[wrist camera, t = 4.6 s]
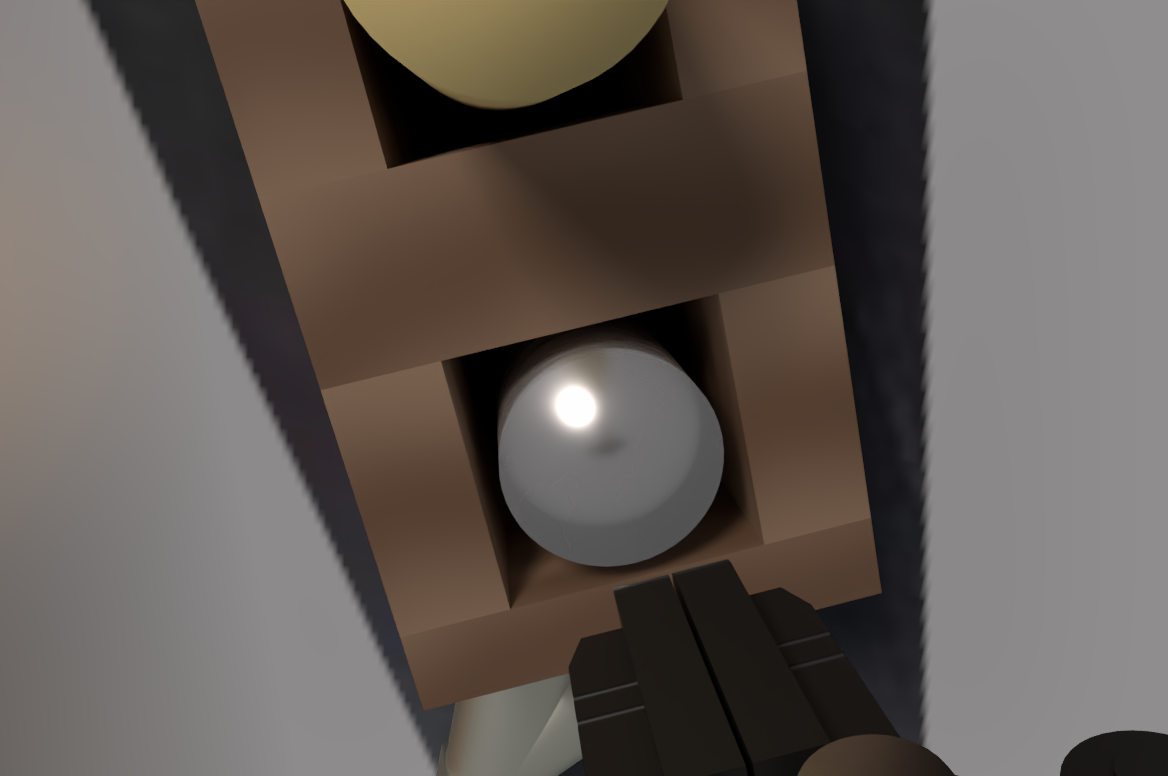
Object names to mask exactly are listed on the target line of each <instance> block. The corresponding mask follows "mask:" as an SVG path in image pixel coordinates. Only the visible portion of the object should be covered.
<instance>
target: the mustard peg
mask: <svg viewBox="0 0 1168 776" xmlns="http://www.w3.org/2000/svg"><path fill="white" fill-rule="evenodd" d="M344 1H345V3H346V4H347V6H348V8H349V9H350V11H351V12H352V14H353V15H354V17H355V18H356V19H357V20H358V22H359V23H360V24H361V25H362V26H363V28H364V29H365V30H366V31H367V32H368V34H369V35H370V36H371V37H372V38H373V39H374V40H375V41H376V42H377V43H378V44H379V45H380V46H381V47H382V48H383V49H385V50H386V51H387V52H388V53H389V54H390V55H391V56H392V57H394V58H395V59H396V60H398V61H399V62H400V63H401V64H403V65H404V66H405V67H407V68H408V69H409V70H410V71H412V72H413V73H414V74H416V75H417V76H418V77H420V78H421V79H422V80H423V81H425V82H426V83H427V84H429V85H430V86H431V87H433V88H434V89H435V90H437V91H438V92H439V93H441V94H443V95H445V96H447V97H448V98H450V99H452V100H454V101H457V102H459V103H462V104H464V105H467V106H471V107H475V108H478V109H484V110H493V111H507V110H516V109H522V108H526V107H529V106H533V105H536V104H539V103H541V102H543V101H546V100H548V99H550V98H552V97H555V96H557V95H559V94H561V93H563V92H566V91H568V90H570V89H572V88H575V87H577V86H579V85H581V84H583V83H585V82H588V81H590V80H592V79H594V78H595V77H597V76H599V75H600V74H602V73H603V72H605V71H606V70H608V69H609V68H611V67H613V66H614V65H615V64H616V63H618V62H619V61H620V60H621V59H622V58H623V57H625V56H626V55H627V54H628V53H629V52H631V51H632V50H633V49H634V48H635V46H636V45H637V44H638V43H639V42H640V41H641V40H642V39H643V38H644V37H645V35H646V34H647V33H648V32H649V31H650V29H651V28H652V26H653V25H654V24H655V22H656V21H657V19H658V18H659V16H660V15H661V13H662V12H663V10H664V8H665V6H666V5H667V3H668V1H669V0H344Z"/></svg>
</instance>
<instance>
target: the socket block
mask: <svg viewBox="0 0 1168 776" xmlns="http://www.w3.org/2000/svg"><path fill="white" fill-rule="evenodd" d="M195 2H196V5H197V8H198V11H199V14H200V17H201V20H202V23H203V26H204V29H205V33H206V36H207V39H208V42H209V45H210V48H211V51H212V54H213V57H214V61H215V64H216V67H217V70H218V73H219V76H220V79H221V82H222V85H223V88H224V92H225V95H226V98H227V101H228V104H229V107H230V110H231V113H232V116H233V119H234V123H235V126H236V129H237V132H238V135H239V138H240V141H241V144H242V147H243V151H244V154H245V157H246V160H247V163H248V166H249V169H250V172H251V175H252V178H253V182H254V185H255V188H256V191H257V194H258V197H259V200H260V203H261V206H262V210H263V213H264V216H265V219H266V222H267V225H268V228H269V231H270V234H271V237H272V241H273V244H274V247H275V250H276V253H277V256H278V259H279V262H280V265H281V268H282V272H283V275H284V278H285V281H286V284H287V287H288V290H289V293H290V296H291V300H292V303H293V306H294V309H295V312H296V315H297V318H298V321H299V324H300V327H301V331H302V334H303V337H304V340H305V343H306V346H307V349H308V352H309V355H310V359H311V362H312V365H313V368H314V371H315V374H316V377H317V380H318V383H319V386H320V390H321V393H322V396H323V399H324V402H325V405H326V408H327V411H328V414H329V417H330V421H331V424H332V427H333V430H334V433H335V436H336V439H337V442H338V445H339V449H340V452H341V455H342V458H343V461H344V464H345V467H346V470H347V473H348V476H349V480H350V483H351V486H352V489H353V492H354V495H355V498H356V501H357V504H358V508H359V511H360V514H361V517H362V520H363V523H364V526H365V529H366V532H367V535H368V539H369V542H370V545H371V548H372V551H373V554H374V557H375V560H376V563H377V567H378V570H379V573H380V576H381V579H382V582H383V585H384V588H385V591H386V594H387V598H388V601H389V604H390V607H391V610H392V613H393V616H394V619H395V622H396V625H397V629H398V632H399V635H400V638H401V641H402V644H403V647H404V650H405V653H406V657H407V660H408V663H409V666H410V669H411V672H412V675H413V678H414V681H415V684H416V688H417V691H418V694H419V697H420V700H421V703H422V706H423V709H424V711H425V710H429V709H433V708H437V707H441V706H444V705H448V704H452V703H456V702H460V701H464V700H468V699H472V698H476V697H479V696H483V695H487V694H491V693H495V692H499V691H503V690H507V689H511V688H514V687H518V686H522V685H526V684H530V683H534V682H538V681H542V680H546V679H549V678H553V677H557V676H561V675H565V674H569V669H568V667H569V664H570V662H571V660H572V658H573V655H574V653H575V651H576V648H577V646H578V644H579V642H580V639H581V638H584V637H588V636H592V635H596V634H600V633H604V632H608V631H611V630H615V629H619V628H622V627H621V623H620V619H619V615H618V611H617V606H616V602H615V598H614V593H613V588H616V587H620V586H624V585H628V584H632V583H636V582H640V581H644V580H647V579H651V578H655V577H659V576H663V575H667V574H668V575H669V577H670V579H671V582H672V584H673V579H672V573H674V572H678V571H682V570H686V569H690V568H694V567H698V566H702V565H706V564H710V563H714V562H718V561H722V560H726V559H729V560H730V562H731V563H732V565H733V567H734V569H735V571H736V572H737V574H738V576H739V578H740V580H741V581H742V583H743V585H744V587H745V589H746V590H747V592H748V594H749V595H752V594H756V593H759V592H763V591H767V590H771V589H775V588H779V587H781V588H783V589H785V590H787V591H788V592H790V593H792V594H794V595H795V596H797V597H799V598H801V599H803V600H804V601H806V602H808V603H810V604H811V605H812V606H813V608H814V609H815V610H818V609H821V608H825V607H829V606H833V605H837V604H841V603H845V602H849V601H852V600H856V599H860V598H864V597H868V596H872V595H876V594H880V593H882V591H881V584H880V577H879V570H878V563H877V556H876V549H875V542H874V535H873V528H872V522H871V515H870V508H869V501H868V494H867V487H866V480H865V473H864V466H863V459H862V452H861V445H860V438H859V431H858V424H857V417H856V410H855V403H854V396H853V389H852V382H851V375H850V368H849V361H848V354H847V347H846V340H845V333H844V326H843V319H842V312H841V305H840V298H839V291H838V284H837V277H836V271H835V264H834V257H833V250H832V243H831V236H830V229H829V222H828V215H827V208H826V201H825V194H824V187H823V180H822V173H821V166H820V159H819V152H818V145H817V138H816V131H815V124H814V117H813V110H812V103H811V96H810V89H809V82H808V75H807V68H806V61H805V54H804V47H803V40H802V33H801V27H800V20H799V13H798V6H797V0H669V1H668V3H667V5H666V6H665V8H664V10H663V12H662V13H661V15H660V16H659V18H658V19H657V21H656V22H655V24H654V25H653V26H652V28H651V29H650V31H649V32H648V33H647V34H646V35H645V37H644V38H643V39H642V40H641V41H640V42H639V43H638V44H637V45H636V46H635V48H634V49H633V50H632V51H631V52H629V53H628V54H627V55H626V56H625V57H623V58H622V59H621V60H620V61H619V62H618V63H616V64H615V65H614V66H613V67H612V72H613V77H614V82H615V87H616V92H617V97H618V102H619V106H620V109H616V110H612V111H608V112H604V113H599V114H595V115H591V116H586V117H582V118H578V119H574V120H569V121H565V122H561V123H557V124H552V125H548V126H544V127H539V128H535V129H531V130H527V131H522V132H518V133H514V134H510V135H505V136H501V137H497V138H492V139H488V140H484V141H480V142H475V143H471V144H467V145H463V146H458V147H454V148H450V149H446V150H441V151H437V152H433V153H428V154H424V155H420V156H418V152H417V148H416V145H415V141H414V137H413V133H412V130H411V126H410V122H409V118H408V115H407V111H406V107H405V104H404V100H403V96H402V92H401V89H400V85H399V81H398V77H397V74H396V70H395V66H394V63H393V59H392V56H391V55H390V54H389V53H388V52H387V51H386V50H385V49H383V48H382V47H381V46H380V45H379V44H378V43H377V42H376V41H375V40H374V39H373V38H372V37H371V36H370V35H369V34H368V32H367V31H366V30H365V29H364V28H363V26H362V25H361V24H360V23H359V22H358V20H357V19H356V18H355V17H354V15H353V14H352V12H351V11H350V9H349V8H348V6H347V4H346V3H345V1H344V0H195ZM657 308H660V309H661V314H662V319H663V324H664V329H665V334H666V339H667V344H668V348H669V353H670V354H671V355H672V357H673V358H674V359H675V360H676V362H677V363H678V364H679V365H680V366H681V368H682V369H683V370H684V371H685V373H686V374H687V375H688V376H689V377H690V379H691V380H692V381H693V382H694V383H695V385H696V386H697V387H698V388H699V390H700V391H701V392H702V393H703V395H704V396H705V397H706V398H707V400H708V402H709V403H710V405H711V407H712V408H713V410H714V413H715V415H716V417H717V420H718V422H719V426H720V429H721V433H722V438H723V447H724V464H723V471H722V477H721V480H720V484H719V487H718V491H717V493H716V495H715V497H714V500H713V502H712V504H711V506H710V507H709V509H708V511H707V512H706V514H705V516H704V517H703V518H702V519H701V521H700V522H699V523H698V524H697V526H696V527H695V528H694V529H693V530H692V531H691V532H690V533H689V534H688V535H687V536H686V537H685V538H683V539H682V540H681V541H679V542H678V543H677V544H676V545H674V546H672V547H671V548H669V549H668V550H666V551H664V552H663V553H660V554H658V555H656V556H654V557H652V558H649V559H646V560H643V561H640V562H637V563H632V564H627V565H622V566H608V567H606V566H591V565H585V564H580V563H576V562H573V561H570V560H566V559H564V558H562V557H559V556H557V555H555V554H553V553H551V552H550V551H548V550H546V549H545V548H543V547H541V546H540V545H539V544H538V543H537V542H535V541H534V540H533V539H532V538H530V537H529V535H528V534H527V533H526V532H525V531H524V530H523V529H522V528H521V527H520V525H519V524H518V522H517V521H516V520H515V518H514V517H513V515H512V513H511V511H510V509H509V507H508V505H507V503H506V500H505V497H504V494H503V492H502V487H501V482H500V477H499V457H498V450H497V447H496V443H495V439H494V435H493V432H492V428H491V424H490V421H489V417H488V413H487V409H486V406H485V402H484V398H483V394H482V391H481V387H480V383H479V379H478V376H477V372H476V368H475V365H474V361H473V357H472V353H476V352H480V351H484V350H489V349H493V348H497V347H501V346H505V345H509V344H513V343H517V342H521V341H526V340H530V339H534V338H538V337H542V336H546V335H550V334H554V333H559V332H563V331H567V330H571V329H575V328H579V327H583V326H587V325H591V324H596V323H600V322H604V321H608V320H612V319H616V318H620V317H624V316H628V315H633V314H637V313H641V312H645V311H649V310H653V309H657ZM673 587H674V585H673Z"/></svg>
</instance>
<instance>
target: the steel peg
mask: <svg viewBox="0 0 1168 776" xmlns="http://www.w3.org/2000/svg"><path fill="white" fill-rule="evenodd" d="M495 386H496V410H497V433H498V457H499V477H500V482H501V487H502V492H503V494H504V497H505V500H506V503H507V505H508V507H509V509H510V511H511V513H512V515H513V517H514V518H515V520H516V521H517V522H518V524H519V525H520V527H521V528H522V529H523V530H524V531H525V532H526V533H527V534H528V535H529V537H530V538H532V539H533V540H534V541H535V542H537V543H538V544H539V545H540V546H541V547H543V548H545V549H546V550H548V551H550V552H551V553H553V554H555V555H557V556H559V557H562V558H564V559H566V560H570V561H573V562H576V563H580V564H585V565H591V566H606V567H608V566H622V565H627V564H632V563H637V562H640V561H643V560H646V559H649V558H652V557H654V556H656V555H658V554H660V553H663V552H664V551H666V550H668V549H669V548H671V547H672V546H674V545H676V544H677V543H678V542H679V541H681V540H682V539H683V538H685V537H686V536H687V535H688V534H689V533H690V532H691V531H692V530H693V529H694V528H695V527H696V526H697V524H698V523H699V522H700V521H701V519H702V518H703V517H704V516H705V514H706V512H707V511H708V509H709V507H710V506H711V504H712V502H713V500H714V497H715V495H716V493H717V491H718V487H719V484H720V480H721V477H722V471H723V464H724V447H723V438H722V433H721V429H720V426H719V422H718V420H717V417H716V415H715V413H714V410H713V408H712V407H711V405H710V403H709V402H708V400H707V398H706V397H705V396H704V395H703V393H702V392H701V391H700V390H699V388H698V387H697V386H696V385H695V383H694V382H693V381H692V380H691V379H690V377H689V376H688V375H687V374H686V373H685V371H684V370H683V369H682V368H681V366H680V365H679V364H678V363H677V362H676V360H675V359H674V358H673V357H672V355H671V354H670V353H669V352H668V351H667V349H666V348H665V347H664V346H663V345H662V343H661V342H660V341H659V340H658V338H657V337H656V336H655V335H654V334H653V332H652V331H651V330H650V329H649V327H648V326H647V325H646V324H645V323H644V321H643V320H642V319H641V318H640V317H639V315H638V314H633V315H628V316H624V317H620V318H616V319H612V320H608V321H604V322H600V323H596V324H591V325H587V326H583V327H579V328H575V329H571V330H567V331H563V332H559V333H554V334H550V335H546V336H542V337H538V338H534V339H530V340H526V341H521V342H517V343H513V344H509V345H505V346H501V347H497V351H496V355H495Z"/></svg>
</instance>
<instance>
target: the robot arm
mask: <svg viewBox="0 0 1168 776" xmlns="http://www.w3.org/2000/svg"><path fill="white" fill-rule="evenodd" d="M672 579H673V584H672V582H671V579H670V577H669V575H668V574H667V575H663V576H659V577H655V578H651V579H647V580H644V581H640V582H636V583H632V584H628V585H624V586H620V587H616V588H613V593H614V598H615V602H616V606H617V611H618V615H619V619H620V623H621V627H622V628H619V629H615V630H611V631H608V632H604V633H600V634H596V635H592V636H588V637H584V638H581V639H580V642H579V644H578V646H577V648H576V651H575V653H574V655H573V658H572V660H571V662H570V664H569V667H568V669H569V675H570V682H571V688H572V695H573V699H574V707H575V714H576V720H577V724H578V733H579V739H580V746H581V752H582V758H583V765H584V771H585V776H957V775H954V773H953V772H952V771H951V770H950V768H949V767H948V766H947V765H946V764H945V763H944V762H943V761H942V760H941V759H940V758H939V757H938V756H937V755H935V754H934V753H932V752H931V751H930V750H928V749H926V748H925V747H923V746H921V745H919V744H917V743H914V742H911V741H909V740H906V739H903V738H900V736H899V735H898V733H897V732H896V730H895V729H894V727H893V726H892V724H891V723H890V721H889V720H888V718H887V717H886V715H885V714H884V712H883V711H882V709H881V708H880V706H879V705H878V703H877V702H876V700H875V699H874V697H873V696H872V694H871V693H870V691H869V690H868V688H867V687H866V685H865V684H864V682H863V681H862V679H861V678H860V676H859V675H858V673H857V672H856V670H855V669H854V667H853V666H852V664H851V663H850V661H849V660H848V658H847V657H844V654H843V651H842V649H841V648H840V646H839V645H838V643H837V642H836V640H835V639H834V637H833V636H832V635H831V636H830V634H829V630H828V628H827V627H826V625H825V624H824V622H823V621H822V619H821V618H820V616H819V615H818V614H817V612H816V611H815V609H814V608H813V606H812V605H811V604H810V603H808V602H806V601H804V600H803V599H801V598H799V597H797V596H795V595H794V594H792V593H790V592H788V591H787V590H785V589H783V588H781V587H779V588H775V589H771V590H767V591H763V592H759V593H756V594H752V595H749V594H748V592H747V590H746V589H745V587H744V585H743V583H742V581H741V580H740V578H739V576H738V574H737V572H736V571H735V569H734V567H733V565H732V563H731V562H730V560H729V559H726V560H722V561H718V562H714V563H710V564H706V565H702V566H698V567H694V568H690V569H686V570H682V571H678V572H674V573H672ZM673 585H674V587H673ZM1060 776H1168V735H1167V734H1161V733H1155V732H1148V731H1133V730H1132V731H1116V732H1110V733H1104V734H1100V735H1097V736H1094V737H1091V738H1089V739H1087V740H1085V741H1083V742H1081V743H1079V744H1078V745H1077V746H1076V747H1074V748H1073V749H1072V750H1071V751H1070V752H1069V753H1068V755H1067V756H1066V757H1065V759H1064V761H1063V764H1062V766H1061V772H1060Z"/></svg>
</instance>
